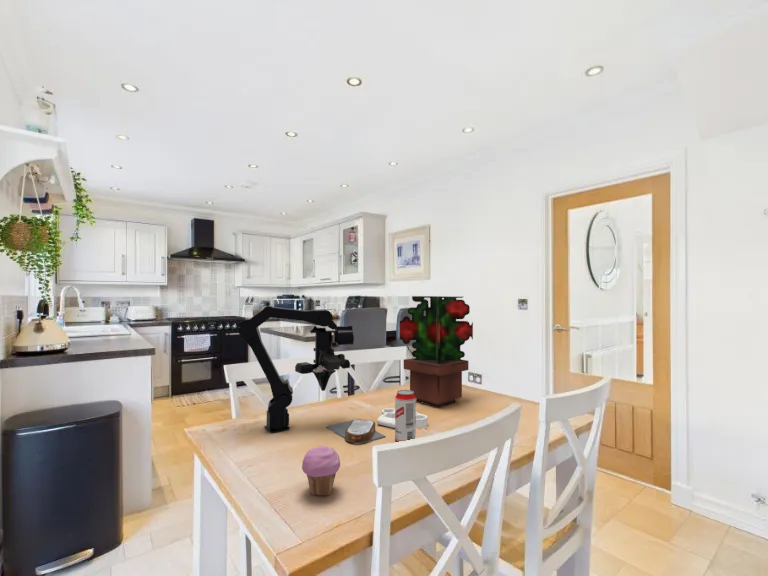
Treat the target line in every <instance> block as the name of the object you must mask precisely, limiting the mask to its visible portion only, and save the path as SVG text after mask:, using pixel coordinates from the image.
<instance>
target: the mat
mask: <svg viewBox="0 0 768 576" xmlns="http://www.w3.org/2000/svg"><path fill="white" fill-rule="evenodd" d="M354 420H355V419H352V420H347V421H343V422H339V423H333V424H330V425H326V426H325V427H326V428H327V429H328V430H330V431H331V432H333V433H335V434H336V435H339V436H340V437H341V438H343V439H345V431H346V429H347V427H348V426H349V425H350V423H351V422H352V421H354ZM383 438H386V435H385V434H382V433H381V432H379V431H376V430H375V432H374V434H373V436H372V438H371V440H369V441H370V442H373V440H374V441H377V440H381V439H383ZM369 441H367V443H369ZM352 444H353V445H355V446H360V445H362V444H366V442H364V443H352ZM359 444H360V445H359Z"/></svg>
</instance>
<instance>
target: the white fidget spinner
mask: <svg viewBox="0 0 768 576" xmlns="http://www.w3.org/2000/svg"><path fill="white" fill-rule="evenodd" d="M428 418H429V416H427V415H426V414H423V413H419V412H418V411H416V429H424V428H427V427H428ZM376 424H377V425H379V426H384V427H389V428H391V429H395V408H392V407H387V408H383V409H382V410H381V415H380V416H378V418H377V419H376Z"/></svg>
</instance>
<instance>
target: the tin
mask: <svg viewBox="0 0 768 576" xmlns="http://www.w3.org/2000/svg"><path fill="white" fill-rule="evenodd" d="M353 420H354V421H352V422H351V423H350V425H349V426H348V427H347V429H346V431H345V438H344V440H345V441H346V442H349V443H352V444H353V443H363V444H365V443H364V442H367V441H369V440H371V438H372V436H373V434H374V432H375V431H376V422H375V421H374V420H372V419H362V418H359V419H353ZM367 443H368V442H367Z"/></svg>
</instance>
